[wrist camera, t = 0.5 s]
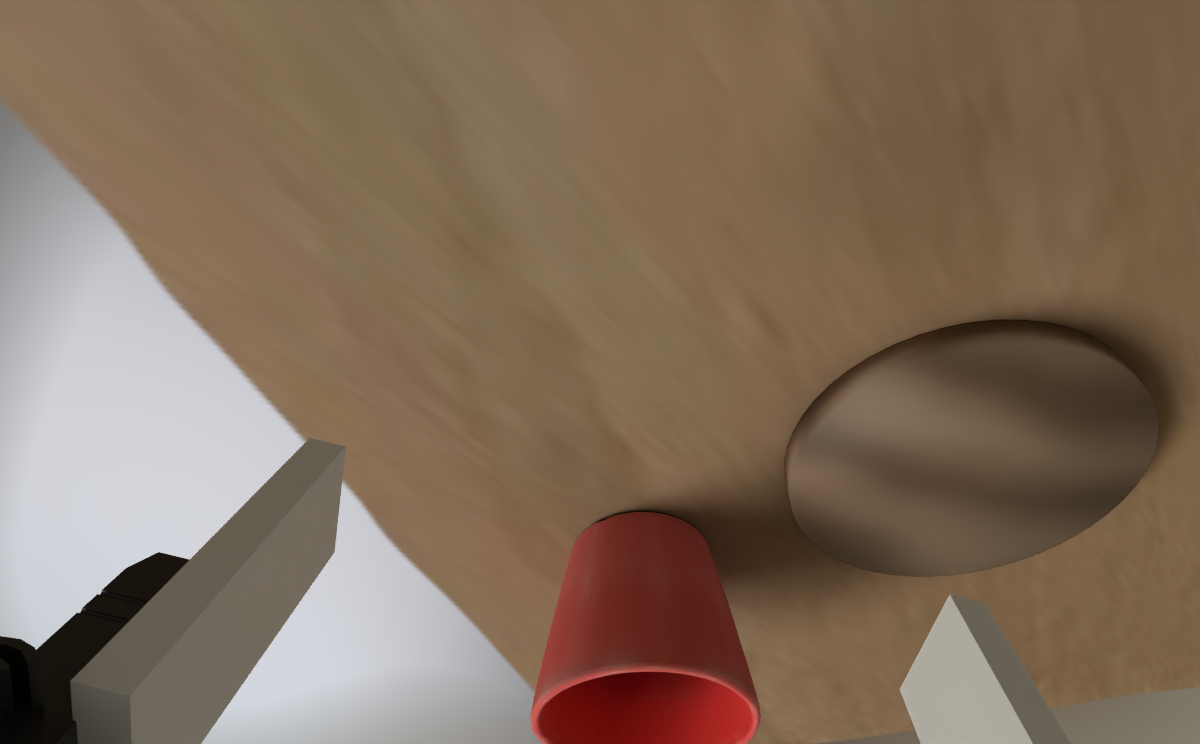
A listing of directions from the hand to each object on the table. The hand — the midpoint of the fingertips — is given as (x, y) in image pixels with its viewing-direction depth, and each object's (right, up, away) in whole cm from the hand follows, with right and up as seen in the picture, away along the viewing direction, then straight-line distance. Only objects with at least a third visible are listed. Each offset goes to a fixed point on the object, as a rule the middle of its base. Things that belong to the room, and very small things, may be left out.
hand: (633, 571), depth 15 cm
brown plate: (+16, 0, +19) cm, 25 cm away
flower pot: (+2, -6, +26) cm, 26 cm away
